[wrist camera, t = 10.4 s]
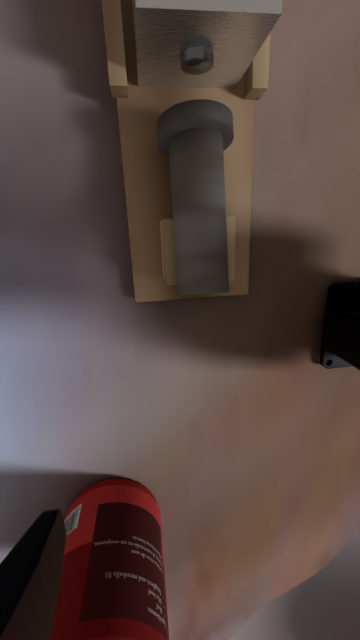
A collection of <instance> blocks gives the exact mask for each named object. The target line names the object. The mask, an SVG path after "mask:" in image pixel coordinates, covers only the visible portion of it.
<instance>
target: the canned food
mask: <svg viewBox="0 0 360 640" xmlns="http://www.w3.org/2000/svg"><path fill="white" fill-rule="evenodd" d="M64 524H65V528H66V544H65V550H64V557H63V563H62V570H61V576H60V583H59V589H58V595H57V602H56V608H55V614H54V620H53V625H52V629H51V634H50V638H49V640H169V631H168V617H167V603H166V589H165V575H164V560H163V546H162V532H161V518H160V510H159V508H158V505H157V503H156V500H155V498H154V496H153V494H152V493H151V492H150V491H149V490H148V489H147V488H146V487H145V486H143V485H142V484H140V483H138V482H135V481H132V480H128V479H108V480H103V481H100V482H97V483H94V484H92V485H91V486H89V487H87V488H86V489H84V490H83V491H82V492H80V493H79V495H78V496H77V497H76V498H75V499H74V501H73V503H72V504H71V506H70V508H69V509H68V511H67V513H66V515H65V518H64Z"/></svg>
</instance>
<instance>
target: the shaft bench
mask: <svg viewBox="0 0 360 640" xmlns="http://www.w3.org/2000/svg"><path fill="white" fill-rule="evenodd" d="M101 3H102V14H103V24H104V34H105V44H106V54H107V64H108V74H109V85H110V90H111V94H112V98H116V100H117V110H118V121H119V132H120V142H121V153H122V164H123V175H124V185H125V196H126V207H127V217H128V228H129V239H130V250H131V260H132V271H133V282H134V292H135V303H136V302H150V301H164V300H178V299H192V298H206V297H220V296H234V295H248V285H249V255H250V224H251V194H252V163H253V133H254V102H255V100H259V98H260V97H261V96H262V95H263V94H264V93H265V91H266V90H267V89H268V79H269V57H270V35H271V32H270V33H269V35H268V36H267V38H266V40H265V41H264V43H263V44H262V46H261V48H260V49H259V51H258V52H257V54H256V56H255V57H254V59H253V60H252V62H251V64H250V65H249V67H248V68H247V70H246V72H245V73H244V75H243V76H242V78H241V79H240V81H239V83H238V84H237V86H236V87H235V88H181V87H138V79H137V66H136V53H135V39H134V26H133V13H132V0H101Z"/></svg>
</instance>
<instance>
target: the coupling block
mask: <svg viewBox="0 0 360 640" xmlns="http://www.w3.org/2000/svg"><path fill="white" fill-rule="evenodd" d="M132 13H133V26H134V39H135V53H136V66H137V79H138V87H181V88H235V87H236V86H237V84H238V83H239V81H240V79H241V78H242V76H243V75H244V73H245V72H246V70H247V68H248V67H249V65H250V64H251V62H252V60H253V59H254V57H255V56H256V54H257V52H258V51H259V49H260V48H261V46H262V44H263V43H264V41H265V40H266V38H267V36H268V35H269V33H270V32H271V30H272V29H273V27H274V25H275V24H276V22H277V21H278V19H279V17H280V16H281V14H282V0H132Z"/></svg>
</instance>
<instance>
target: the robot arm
mask: <svg viewBox="0 0 360 640" xmlns="http://www.w3.org/2000/svg"><path fill="white" fill-rule="evenodd" d="M337 287H338V291H337V292H336V291H335V290H336V288H337ZM328 360H329V361H328ZM327 361H328V362H327ZM326 362H327V363H326ZM320 364H321V365H322V366H323V367H324V368H326V369H330V368H340V367H349V366H353V367H355V368H357V369H358V370H360V280H359V281H344V282H334V283H332V284H331V285H330V286H329V289H328V297H327V305H326V313H325V318H324V326H323V334H322V343H321V355H320ZM65 544H66V528H65V524H64V520H63V515H62V511H61V510H60V509H59V508H55V509H49V510H44V511H43V512H42V513H41V514H40V515H39V516H38V517H37V519H36V520H35V521H34V522H33V524H32V525H31V526H30V527H29V529H28V530H27V531H26V532H25V534H24V535H23V536H22V537H21V539H20V540H19V541H18V542H17V544H16V545H15V546H14V547H13V549H12V550H11V551H10V552H9V554H8V555H7V556H6V557H5V559H4V560H3V561H2V562H1V564H0V640H49V638H50V634H51V629H52V625H53V620H54V614H55V608H56V602H57V595H58V589H59V583H60V576H61V570H62V563H63V557H64V550H65Z"/></svg>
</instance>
